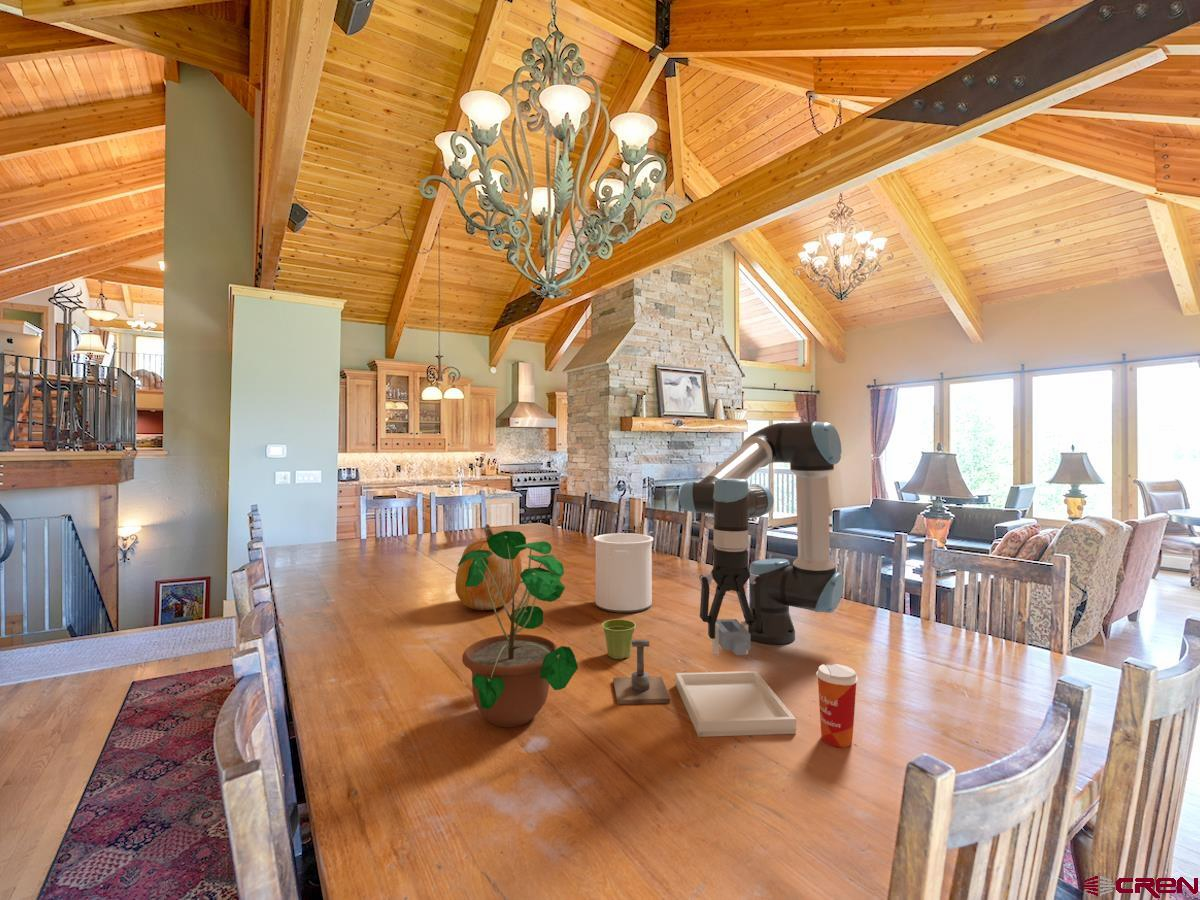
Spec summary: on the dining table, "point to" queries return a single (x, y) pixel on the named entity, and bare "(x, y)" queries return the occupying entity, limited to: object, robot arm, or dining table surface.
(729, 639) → the grey slotted block
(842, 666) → the paper cup
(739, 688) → the tray
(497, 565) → the pumpkin
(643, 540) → the bucket
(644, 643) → the lever on base
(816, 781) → the dining table surface
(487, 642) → the potted plant
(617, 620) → the plant pot
